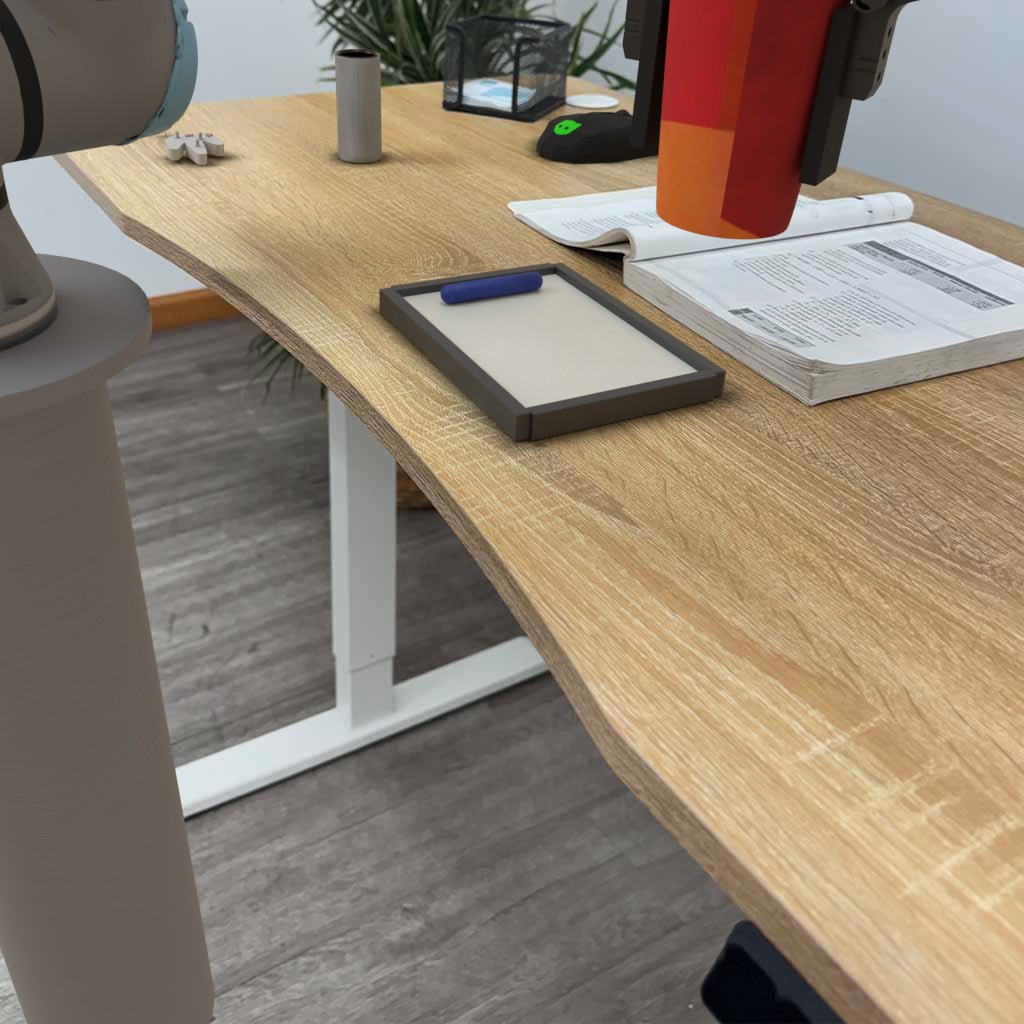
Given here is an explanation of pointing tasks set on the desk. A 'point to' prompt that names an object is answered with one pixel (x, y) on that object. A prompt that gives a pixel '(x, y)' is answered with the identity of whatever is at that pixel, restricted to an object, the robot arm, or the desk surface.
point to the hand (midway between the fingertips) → (730, 157)
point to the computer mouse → (591, 138)
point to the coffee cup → (738, 112)
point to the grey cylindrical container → (358, 105)
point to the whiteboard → (548, 349)
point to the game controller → (194, 146)
